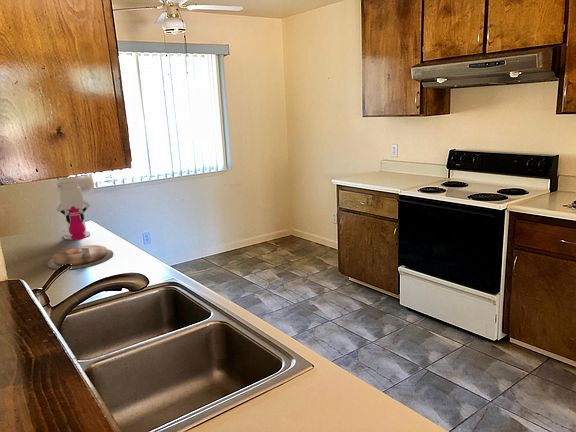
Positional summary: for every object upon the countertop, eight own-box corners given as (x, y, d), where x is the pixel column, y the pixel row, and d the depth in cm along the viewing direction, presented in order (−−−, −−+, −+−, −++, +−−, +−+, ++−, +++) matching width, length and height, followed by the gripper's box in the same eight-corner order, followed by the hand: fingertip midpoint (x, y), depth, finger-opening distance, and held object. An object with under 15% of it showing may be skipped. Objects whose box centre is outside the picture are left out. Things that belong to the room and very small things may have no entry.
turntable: (60, 269, 191) (57, 254, 190) (48, 257, 208) (46, 244, 206) (114, 256, 204) (111, 242, 203) (98, 246, 221) (96, 233, 219)
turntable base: (33, 266, 199) (33, 265, 199) (81, 247, 223) (81, 246, 223) (81, 272, 189) (80, 270, 189) (126, 251, 213) (125, 249, 213)
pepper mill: (89, 236, 229) (83, 196, 223) (81, 240, 222) (74, 200, 216) (75, 236, 229) (68, 197, 224) (67, 240, 222) (60, 200, 217)
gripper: (49, 188, 212) (56, 226, 217) (89, 184, 218) (94, 221, 223) (50, 186, 219) (56, 222, 223) (88, 181, 225) (94, 217, 230)
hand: (75, 221), depth 223 cm, fingers closed on pepper mill, 5 cm apart
